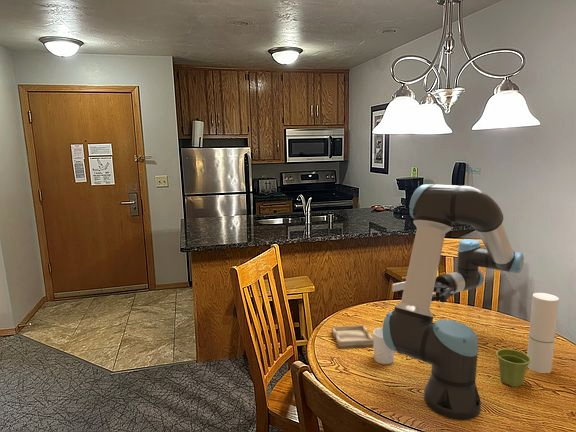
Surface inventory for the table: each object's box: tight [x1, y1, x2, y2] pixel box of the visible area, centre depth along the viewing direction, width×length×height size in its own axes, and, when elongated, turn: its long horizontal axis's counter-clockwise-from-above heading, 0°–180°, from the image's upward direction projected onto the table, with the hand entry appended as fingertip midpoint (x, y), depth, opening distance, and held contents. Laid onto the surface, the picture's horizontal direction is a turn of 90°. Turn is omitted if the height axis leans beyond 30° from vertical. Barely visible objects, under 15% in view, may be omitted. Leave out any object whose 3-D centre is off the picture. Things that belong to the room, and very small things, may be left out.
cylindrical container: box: [526, 292, 560, 374], centre depth 130 cm, size 7×7×25 cm
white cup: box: [372, 327, 396, 365], centre depth 138 cm, size 8×8×10 cm
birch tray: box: [331, 324, 373, 350], centre depth 154 cm, size 13×13×2 cm
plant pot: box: [495, 348, 531, 388], centre depth 124 cm, size 9×9×9 cm
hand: (405, 293), depth 141 cm, fingers open, 13 cm apart
